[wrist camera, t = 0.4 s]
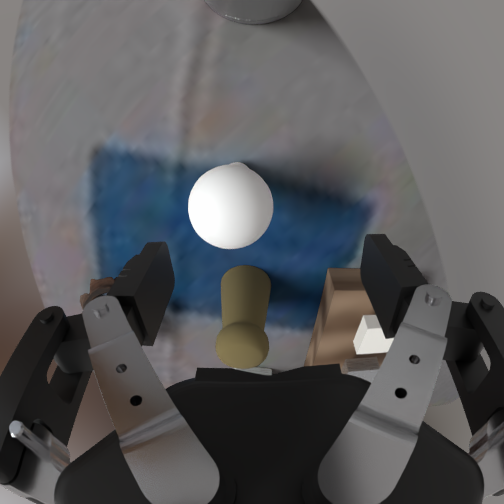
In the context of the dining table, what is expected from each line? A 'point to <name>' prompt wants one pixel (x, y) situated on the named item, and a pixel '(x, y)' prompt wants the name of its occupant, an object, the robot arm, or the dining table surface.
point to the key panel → (340, 319)
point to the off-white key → (371, 337)
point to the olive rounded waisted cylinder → (244, 317)
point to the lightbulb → (230, 206)
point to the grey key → (361, 368)
